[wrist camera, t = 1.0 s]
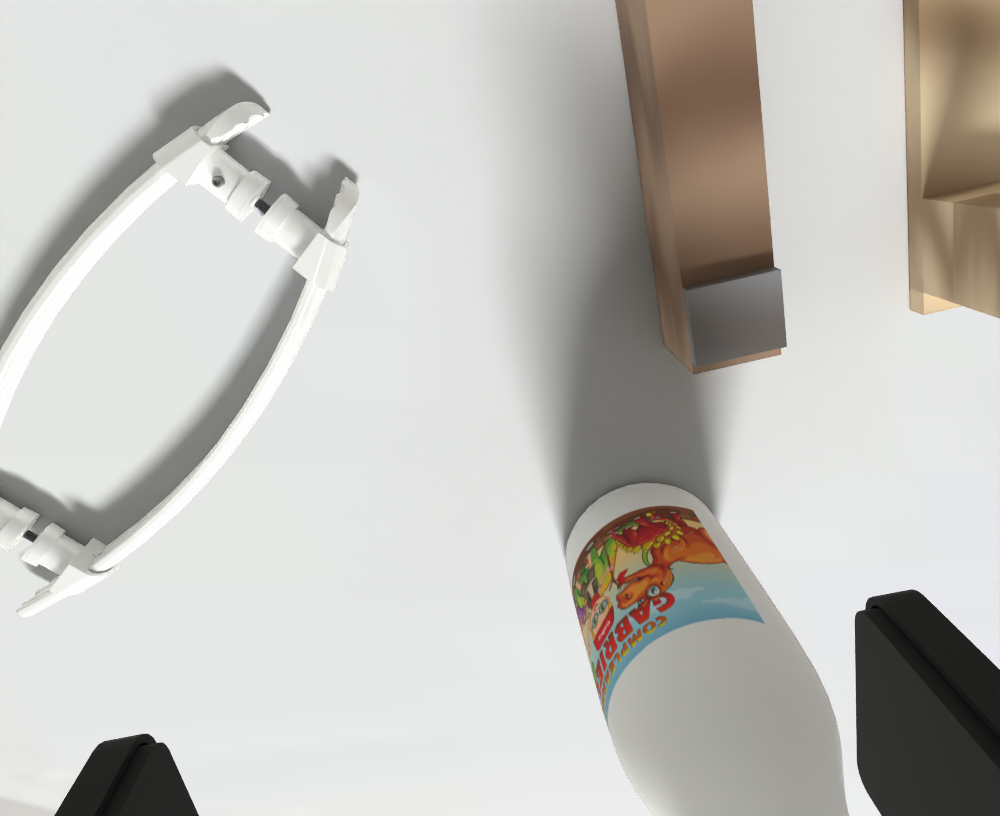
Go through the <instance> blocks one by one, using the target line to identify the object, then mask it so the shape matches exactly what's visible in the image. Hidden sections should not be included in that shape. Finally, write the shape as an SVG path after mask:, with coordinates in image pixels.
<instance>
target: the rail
mask: <svg viewBox="0 0 1000 816" xmlns="http://www.w3.org/2000/svg"><path fill="white" fill-rule="evenodd" d="M615 2H616V9H617V16H618V23H619V30H620V37H621V44H622V51H623V58H624V65H625V72H626V79H627V87H628V94H629V101H630V108H631V115H632V122H633V129H634V136H635V143H636V150H637V157H638V164H639V171H640V178H641V185H642V192H643V199H644V206H645V213H646V220H647V228H648V235H649V242H650V249H651V256H652V263H653V270H654V277H655V284H656V291H657V298H658V305H659V312H660V319H661V326H662V333H663V340H664V346H665V347H666V348H667V349H668V350H669V351H670V352H671V353H672V354H673V355H674V356H675V357H676V358H677V359H678V360H679V361H680V362H681V363H682V364H683V365H685V366H686V367H687V368H688V369H689V370H690V371H691V372H692V373H693V374H697V373H701V372H706V371H710V370H715V369H719V368H724V367H728V366H732V365H737V364H741V363H746V362H750V361H755V360H759V359H764V358H768V357H772V356H777V355H781V348H783V347H787V343H786V330H785V318H784V305H783V292H782V279H781V270H780V269H778V268H776V267H774V261H773V248H772V236H771V224H770V212H769V199H768V187H767V175H766V163H765V150H764V138H763V126H762V114H761V101H760V89H759V77H758V65H757V52H756V40H755V28H754V15H753V3H752V0H615Z"/></svg>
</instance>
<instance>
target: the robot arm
mask: <svg viewBox="0 0 1000 816" xmlns="http://www.w3.org/2000/svg"><path fill="white" fill-rule="evenodd" d="M855 660H856V729H857V765H858V770H859V774H860V777H861V780H862V782H863V785H864V787H865V789H866V791H867V793H868V794H869V796H870V798H871V799H872V801H873V802H874V804H875V806H876V807H877V809H878V810H879V812H880V814H881V815H882V816H1000V670H999V669H998V668H997V667H996V666H995V665H994V664H993V663H992V662H991V661H990V660H989V659H988V658H987V657H986V656H985V655H984V654H983V653H982V652H981V651H980V650H979V649H978V648H977V647H976V646H975V645H974V644H973V643H972V642H971V641H970V640H969V639H968V638H967V637H966V636H965V635H964V634H963V633H961V632H960V631H959V630H958V629H957V628H956V627H955V626H954V625H953V624H952V623H951V622H950V621H949V620H948V619H947V618H946V617H945V616H944V615H943V614H942V613H941V612H940V611H939V610H938V609H937V608H936V607H935V606H934V605H933V604H932V603H931V602H930V601H929V600H928V599H927V598H926V597H925V596H924V595H922V594H921V593H920V592H918V591H916V590H907V591H901V592H896V593H891V594H885V595H880V596H875V597H871V598H869V599H868V600H867V602H866V609H865V610H863V611H859V612H857V613H856V615H855ZM55 816H199V815H198V813H197V810H196V808H195V806H194V804H193V802H192V799H191V797H190V795H189V793H188V791H187V788H186V786H185V784H184V782H183V780H182V777H181V775H180V773H179V771H178V768H177V766H176V764H175V762H174V760H173V757H172V755H171V753H170V751H169V749H168V747H167V746H166V745H165V744H164V743H156V741H155V740H154V738H153V737H152V736H150V735H149V734H140V735H135V736H130V737H125V738H119V739H114V740H109V741H104V742H102V743H101V744H99V745H98V746H97V747H96V748H95V750H94V751H93V752H92V754H91V756H90V757H89V759H88V761H87V762H86V764H85V766H84V767H83V769H82V771H81V772H80V774H79V776H78V777H77V779H76V781H75V782H74V784H73V786H72V787H71V789H70V791H69V792H68V794H67V796H66V797H65V799H64V801H63V802H62V804H61V806H60V807H59V809H58V811H57V812H56V814H55Z"/></svg>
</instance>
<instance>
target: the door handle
mask: <svg viewBox="0 0 1000 816" xmlns="http://www.w3.org/2000/svg"><path fill="white" fill-rule="evenodd" d="M269 115H270V114H269V113H268V112H267V111H266V110H264V109H263V108H262V107H261V106H260V105H258V104H256V103H253V102H240V103H237V104H235V105H233V106H232V107H230V108H228V109H227V110H225V111H224V112H222V113H220V114H219V115H217V116H216V117H214V118H213V119H212V120H210V121H209V122H208V123H206V124H205V125H204V126H202V127H199V126H195V125H194V126H192V127H190V128H189V129H187V130H186V131H184V132H183V133H182V134H180V135H179V136H177V137H176V138H175V139H173V140H172V141H170V142H169V143H167V144H166V145H165V146H163V147H162V148H160V149H159V150H158V151H156V152H155V153H153V158H154V160H155V162H156V163H155V164H154V165H153V166H151V167H150V168H149V169H148V170H147V171H146V172H145V173H143V174H142V175H141V176H140V177H139V178H138V179H136V180H135V181H134V182H133V183H132V184H131V185H130V186H128V187H127V188H126V189H125V190H124V191H123V192H122V193H121V194H120V195H119V196H118V197H117V198H116V199H115V200H114V201H113V202H112V203H111V204H110V205H109V206H108V207H107V209H106V210H105V211H104V212H103V213H102V214H101V215H100V216H99V217H98V218H97V219H96V220H95V221H94V222H93V223H92V224H91V225H90V226H89V227H88V228H87V229H86V230H85V231H84V233H83V234H82V235H81V236H80V237H79V239H78V240H77V241H76V242H75V243H74V245H73V246H72V247H71V248H70V249H69V251H68V252H67V253H66V254H65V255H64V257H63V258H62V259H61V260H60V261H59V263H58V264H57V265H56V266H55V267H54V269H53V270H52V271H51V273H50V274H49V276H48V277H47V278H46V280H45V281H44V283H43V284H42V285H41V287H40V288H39V290H38V291H37V292H36V294H35V295H34V297H33V298H32V300H31V301H30V302H29V304H28V305H27V307H26V308H25V309H24V311H23V312H22V314H21V316H20V318H19V319H18V321H17V323H16V324H15V326H14V328H13V329H12V331H11V333H10V334H9V336H8V338H7V340H6V341H5V343H4V345H3V346H2V348H1V350H0V427H1V424H2V422H3V419H4V417H5V414H6V412H7V409H8V407H9V404H10V402H11V399H12V397H13V394H14V392H15V390H16V388H17V386H18V384H19V382H20V380H21V378H22V376H23V374H24V372H25V370H26V368H27V366H28V364H29V362H30V360H31V358H32V356H33V354H34V352H35V350H36V348H37V346H38V345H39V343H40V342H41V340H42V338H43V337H44V335H45V333H46V332H47V330H48V328H49V327H50V325H51V323H52V322H53V320H54V318H55V317H56V315H57V314H58V312H59V311H60V310H61V308H62V307H63V305H64V304H65V303H66V301H67V300H68V299H69V297H70V296H71V294H72V293H73V292H74V290H75V289H76V288H77V286H78V285H79V283H80V282H81V281H82V279H83V278H84V276H85V275H86V274H87V273H88V272H89V271H90V269H91V268H92V267H93V266H94V265H95V263H96V262H97V261H98V260H99V259H100V258H101V256H102V255H103V254H104V253H105V252H106V251H107V249H108V248H109V247H110V246H111V245H112V244H113V242H114V241H115V240H116V239H117V238H118V237H119V236H120V235H121V234H122V233H123V232H124V231H125V230H126V229H127V228H128V227H129V226H130V225H131V224H132V223H133V222H134V221H135V220H136V219H137V218H138V217H139V216H140V215H141V214H142V213H143V212H144V211H145V210H146V209H147V208H148V207H149V206H150V205H151V204H152V203H153V202H154V201H155V200H156V199H157V198H158V197H160V196H161V195H162V194H163V193H164V192H165V191H167V190H168V189H169V188H170V187H171V186H172V185H174V184H175V183H176V182H177V181H179V182H180V183H182V184H183V185H184V186H186V185H192V184H197V183H199V184H201V185H202V186H203V187H205V188H206V189H207V190H208V191H210V192H211V193H212V194H214V195H215V196H216V197H218V198H219V199H220V200H221V201H223V202H224V203H225V204H226V209H227V210H228V211H229V212H230V213H231V214H233V215H234V216H235V217H236V218H237V219H238V220H240V221H242V220H244V219H245V218H246V217H247V216H248V215H249V214H250V213H251V212H252V211H253V210H254V209H255V207H256V208H259V210H260V211H262V212H263V213H264V214H265V215H264V217H263V218H262V219H261V221H260V223H259V224H258V226H257V228H256V230H255V233H257V234H258V235H259V236H261V237H262V238H264V239H265V240H267V241H268V242H270V243H272V242H273V241H275V242H276V243H277V244H279V245H280V246H281V247H283V248H284V249H285V250H287V251H288V252H289V253H290V254H292V255H293V256H294V257H296V258H297V259H298V261H297V262H296V264H295V265H294V266H293V269H294V270H296V271H297V272H298V273H299V274H301V275H302V276H303V277H305V278H306V279H307V281H306V284H305V286H304V288H303V291H302V293H301V296H300V298H299V300H298V303H297V305H296V308H295V310H294V312H293V315H292V317H291V320H290V322H289V324H288V326H287V328H286V330H285V332H284V334H283V336H282V338H281V340H280V342H279V344H278V346H277V347H276V349H275V351H274V353H273V355H272V357H271V359H270V361H269V363H268V365H267V367H266V369H265V370H264V372H263V374H262V375H261V377H260V379H259V380H258V382H257V384H256V385H255V387H254V389H253V390H252V392H251V394H250V395H249V397H248V399H247V400H246V402H245V404H244V405H243V407H242V408H241V410H240V411H239V413H238V414H237V415H236V417H235V418H234V420H233V421H232V423H231V424H230V425H229V427H228V428H227V430H226V431H225V432H224V434H223V435H222V437H221V438H220V439H219V441H218V442H217V443H216V444H215V446H214V447H213V448H212V449H211V450H210V452H209V453H208V454H207V455H206V456H205V458H204V459H203V460H202V461H201V462H200V463H199V464H198V465H197V466H196V467H195V468H194V469H193V471H192V472H191V473H190V474H189V475H188V476H187V477H186V478H185V479H184V480H183V481H182V482H181V483H180V484H179V485H178V486H177V487H176V488H175V489H174V490H173V491H172V492H171V493H170V494H169V495H168V496H167V497H166V498H164V499H163V500H162V501H161V502H160V503H159V504H158V505H157V506H155V507H154V508H153V509H152V510H151V511H150V512H149V513H148V514H147V515H145V516H144V517H143V518H142V519H141V520H140V521H138V522H137V523H136V524H134V525H133V526H132V527H130V528H129V529H128V530H127V531H125V532H124V533H123V534H121V535H120V536H119V537H117V538H116V539H115V540H114V541H112V542H111V543H110V544H108V545H107V546H106V545H105V544H103V543H101V542H100V541H98V540H96V539H94V538H92V539H91V541H90V542H89V543H88V544H87V545H86V546H83V545H81V544H80V543H78V542H76V541H74V540H73V539H71V538H69V537H68V536H66V535H64V534H65V532H66V531H65V530H63V529H62V528H60V527H59V526H58V525H56V524H55V523H51V524H50V525H49V526H48V527H47V528H46V529H45V530H44V531H43V532H42V533H41V534H40V535H39V536H38V535H36V534H35V533H33V532H31V531H30V528H31V527H32V526H33V525H34V523H35V522H36V520H37V519H38V517H39V514H38V513H36V512H34V511H32V510H30V509H28V508H26V507H23V508H22V509H20V508H18V507H16V506H15V505H13V504H11V503H9V502H8V501H6V500H4V499H3V498H1V497H0V547H1V548H2V549H4V550H6V551H10V550H11V549H12V548H13V547H14V546H15V545H16V544H17V543H18V542H19V541H20V540H21V539H22V538H23V537H24V538H26V539H28V540H30V541H31V542H33V543H32V544H31V546H30V547H29V548H28V550H27V551H26V552H25V554H24V555H23V557H22V560H23V561H25V562H27V563H29V564H31V565H33V566H36V567H37V566H38V565H39V564H40V565H42V566H44V567H46V568H47V569H49V570H51V571H53V572H54V573H56V574H58V575H59V576H57V577H56V578H54V579H53V580H51V581H50V583H49V584H48V585H46V586H44V587H43V588H41V589H39V590H37V591H36V595H35V596H34V597H32V598H31V599H29V600H27V601H25V602H24V603H22V605H23V606H21V607H20V608H18V609H17V610H16V612H17V614H18V615H19V616H21V617H29V616H32V615H34V614H36V613H37V612H39V611H41V610H43V609H45V608H46V607H48V606H50V605H52V604H54V603H55V602H57V601H59V600H61V599H63V598H64V597H66V596H71V595H76V594H79V593H81V592H83V591H84V590H86V589H88V588H89V587H91V586H93V585H94V584H96V583H98V582H99V581H101V580H102V579H104V578H106V577H107V576H109V575H111V574H112V573H114V572H116V571H117V570H118V568H119V567H120V564H121V560H122V559H123V558H125V557H126V556H127V555H129V554H130V553H131V552H132V551H134V550H135V549H136V548H138V547H139V546H140V545H142V544H143V543H144V542H146V541H147V540H148V539H149V538H150V537H151V536H152V535H154V534H155V533H156V532H157V531H158V530H159V529H160V528H161V527H163V526H164V525H165V524H166V523H167V522H168V521H169V520H170V519H172V518H173V517H174V516H175V515H176V514H177V513H178V512H179V511H180V510H181V509H182V508H183V507H184V506H185V505H186V504H187V503H188V502H189V501H190V500H191V499H192V498H193V497H194V496H195V495H196V494H197V493H198V492H199V491H200V490H201V489H202V488H203V487H204V486H205V485H206V484H207V483H208V482H209V481H210V480H211V478H212V477H213V476H214V475H215V474H216V472H217V471H218V470H219V469H220V468H221V467H222V465H223V464H224V463H225V462H226V461H227V459H228V458H229V457H230V456H231V455H232V453H233V452H234V451H235V450H236V449H237V447H238V446H239V445H240V443H241V442H242V440H243V439H244V438H245V436H246V435H247V433H248V432H249V431H250V429H251V428H252V426H253V425H254V424H255V422H256V421H257V419H258V418H259V417H260V415H261V414H262V412H263V411H264V410H265V408H266V406H267V405H268V403H269V401H270V400H271V398H272V397H273V395H274V393H275V392H276V390H277V388H278V387H279V385H280V383H281V382H282V380H283V379H284V377H285V375H286V374H287V372H288V370H289V369H290V367H291V365H292V363H293V361H294V359H295V357H296V355H297V353H298V351H299V349H300V347H301V345H302V344H303V342H304V340H305V338H306V336H307V334H308V332H309V330H310V328H311V326H312V324H313V322H314V320H315V317H316V315H317V313H318V310H319V308H320V305H321V303H322V301H323V298H324V296H325V294H326V291H335V289H336V286H337V283H338V280H339V277H340V274H341V270H342V267H343V264H344V261H345V258H346V255H347V252H348V249H349V244H348V242H347V241H346V238H347V235H348V232H349V229H350V226H351V223H352V219H353V216H354V212H355V208H356V205H357V201H358V197H359V190H358V187H357V185H356V184H354V183H353V182H352V181H351V180H350V179H348V178H347V177H346V176H345V178H344V180H342V184H341V188H340V192H339V193H338V194H336V197H335V201H334V205H333V208H332V210H331V211H330V214H329V218H328V221H327V224H326V227H325V228H324V229H322V228H321V227H319V226H318V225H317V224H316V223H314V222H313V221H312V220H311V219H309V218H308V217H307V216H305V215H304V214H303V213H302V212H300V211H299V210H298V208H299V205H298V204H297V203H296V202H295V201H294V200H293V199H292V198H291V197H289V196H288V195H287V194H286V193H284V194H283V195H281V196H280V197H279V198H278V199H277V200H276V201H275V203H274V204H273V205H272V206H271V207H270V206H269V205H268V204H266V203H265V202H264V201H262V198H263V197H264V195H265V194H266V192H267V191H268V189H269V187H270V184H271V181H270V180H268V179H267V178H266V177H264V176H263V175H261V174H260V173H258V172H257V171H256V170H254V171H252V172H250V171H249V170H247V169H246V168H245V167H243V166H242V165H241V164H240V163H238V162H237V161H236V160H235V159H233V158H232V157H231V156H230V155H228V154H227V153H226V150H227V149H228V147H229V146H228V145H227V144H226V143H227V142H229V141H230V140H232V139H233V138H234V137H236V136H237V135H239V134H240V133H242V132H243V131H245V130H247V129H248V128H250V127H251V126H253V125H255V124H256V123H258V122H259V121H261V120H263V119H264V118H266V117H267V116H269ZM0 484H1V483H0Z"/></svg>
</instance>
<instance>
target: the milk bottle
mask: <svg viewBox="0 0 1000 816" xmlns="http://www.w3.org/2000/svg"><path fill="white" fill-rule="evenodd" d="M566 568H567V573H568V578H569V583H570V588H571V592H572V596H573V600H574V604H575V608H576V611H577V615H578V619H579V623H580V627H581V631H582V635H583V639H584V643H585V646H586V650H587V654H588V658H589V662H590V665H591V669H592V673H593V676H594V680H595V684H596V688H597V691H598V695H599V699H600V702H601V706H602V710H603V713H604V716H605V719H606V722H607V726H608V729H609V732H610V735H611V738H612V741H613V745H614V748H615V751H616V753H617V755H618V758H619V760H620V762H621V765H622V767H623V769H624V771H625V774H626V776H627V778H628V779H629V781H630V783H631V785H632V786H633V788H634V790H635V792H636V793H637V795H638V796H639V798H640V799H641V801H642V802H643V803H644V805H645V806H646V808H647V809H648V810H649V812H650V813H651V814H652V815H653V816H849V813H848V809H847V804H846V798H845V790H844V778H843V763H842V751H841V742H840V736H839V731H838V727H837V722H836V718H835V715H834V712H833V709H832V706H831V703H830V700H829V697H828V695H827V693H826V691H825V689H824V686H823V684H822V682H821V680H820V678H819V676H818V674H817V672H816V670H815V668H814V666H813V665H812V663H811V661H810V660H809V658H808V656H807V655H806V653H805V651H804V650H803V648H802V647H801V645H800V643H799V642H798V640H797V638H796V637H795V635H794V634H793V632H792V630H791V629H790V627H789V626H788V624H787V623H786V621H785V620H784V618H783V617H782V615H781V614H780V612H779V611H778V609H777V608H776V606H775V605H774V603H773V602H772V600H771V599H770V597H769V596H768V594H767V593H766V591H765V590H764V588H763V587H762V585H761V584H760V582H759V581H758V579H757V578H756V576H755V575H754V573H753V572H752V570H751V569H750V568H749V566H748V565H747V563H746V562H745V560H744V559H743V557H742V556H741V554H740V553H739V551H738V550H737V548H736V547H735V545H734V544H733V543H732V541H731V540H730V538H729V537H728V535H727V534H726V532H725V531H724V530H723V528H722V527H721V525H720V524H719V522H718V521H717V519H716V518H715V517H714V516H713V514H712V513H711V512H710V510H709V509H708V508H707V507H706V506H705V504H704V503H702V502H701V501H700V500H699V499H698V498H697V497H695V496H694V495H692V494H691V493H689V492H687V491H685V490H683V489H680V488H677V487H674V486H670V485H666V484H660V483H638V484H632V485H626V486H624V487H621V488H618V489H615V490H613V491H611V492H609V493H607V494H606V495H604V496H602V497H600V498H599V499H598V500H597V501H595V502H594V503H593V504H592V505H590V506H589V507H588V508H587V510H586V511H585V512H584V513H583V514H582V515H581V516H580V518H579V519H578V521H577V523H576V524H575V526H574V528H573V530H572V532H571V534H570V537H569V540H568V543H567V548H566Z"/></svg>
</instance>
